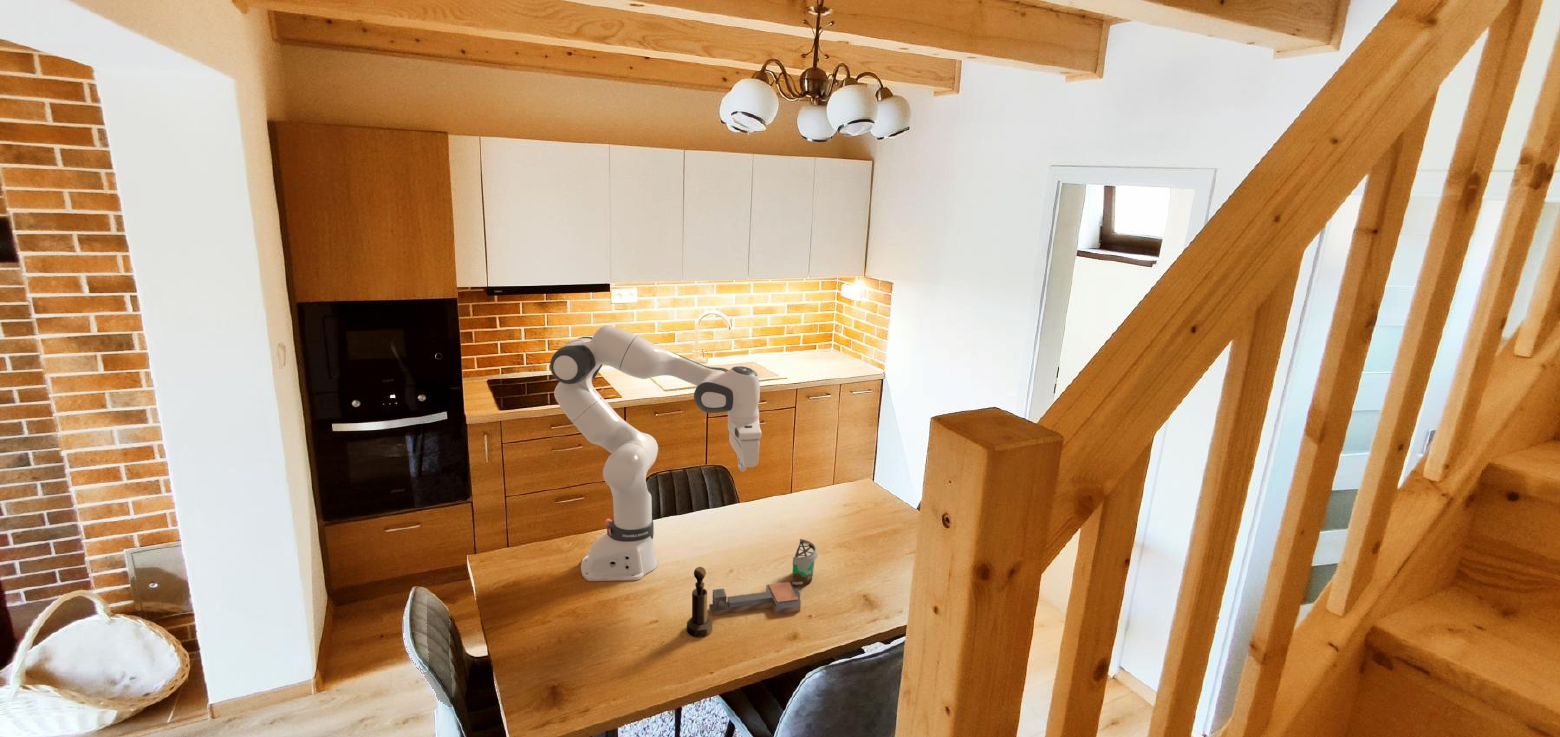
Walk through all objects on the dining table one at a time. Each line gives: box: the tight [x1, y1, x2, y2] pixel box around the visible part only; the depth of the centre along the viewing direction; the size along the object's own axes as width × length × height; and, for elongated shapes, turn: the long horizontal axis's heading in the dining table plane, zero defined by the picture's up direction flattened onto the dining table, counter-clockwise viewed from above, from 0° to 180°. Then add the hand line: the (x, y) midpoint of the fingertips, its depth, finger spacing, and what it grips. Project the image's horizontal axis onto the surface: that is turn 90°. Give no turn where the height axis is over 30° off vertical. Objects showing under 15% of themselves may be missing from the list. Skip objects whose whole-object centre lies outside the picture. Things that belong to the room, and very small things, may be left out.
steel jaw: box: [727, 581, 802, 609], centre depth 203 cm, size 20×10×2 cm, turn 107°
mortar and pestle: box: [686, 566, 713, 638], centre depth 189 cm, size 7×6×18 cm
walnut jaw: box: [708, 588, 801, 616], centre depth 202 cm, size 25×10×6 cm, turn 106°
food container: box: [791, 538, 818, 588], centre depth 216 cm, size 12×6×10 cm, turn 168°
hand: (742, 469), depth 211 cm, fingers closed
